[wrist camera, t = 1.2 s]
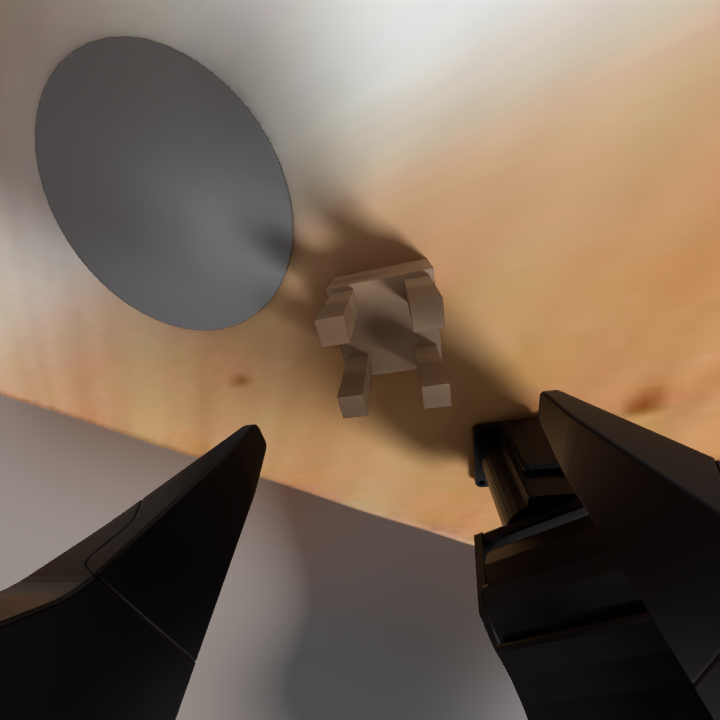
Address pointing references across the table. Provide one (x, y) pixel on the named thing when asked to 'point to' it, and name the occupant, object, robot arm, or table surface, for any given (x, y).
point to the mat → (164, 183)
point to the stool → (386, 331)
